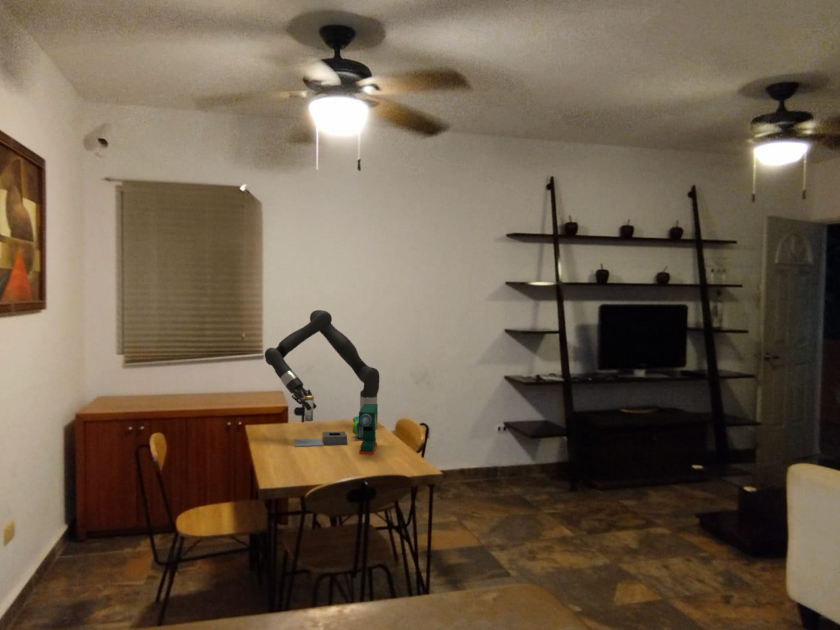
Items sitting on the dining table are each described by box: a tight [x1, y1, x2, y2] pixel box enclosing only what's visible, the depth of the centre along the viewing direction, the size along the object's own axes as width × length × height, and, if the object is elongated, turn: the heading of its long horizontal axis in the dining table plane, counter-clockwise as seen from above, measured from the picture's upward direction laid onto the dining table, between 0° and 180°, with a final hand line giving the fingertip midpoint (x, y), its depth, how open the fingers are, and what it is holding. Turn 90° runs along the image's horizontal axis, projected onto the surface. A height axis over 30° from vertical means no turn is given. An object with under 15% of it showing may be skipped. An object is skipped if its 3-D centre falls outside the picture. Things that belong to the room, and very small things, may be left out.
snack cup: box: [352, 415, 363, 440], centre depth 316 cm, size 16×10×10 cm
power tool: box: [358, 403, 379, 455], centre depth 286 cm, size 32×7×20 cm, turn 179°
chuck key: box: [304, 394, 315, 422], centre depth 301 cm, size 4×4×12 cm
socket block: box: [321, 431, 348, 446], centre depth 304 cm, size 11×11×4 cm
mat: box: [294, 437, 324, 448], centre depth 302 cm, size 13×13×1 cm
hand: (312, 408), depth 300 cm, fingers closed on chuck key, 4 cm apart
